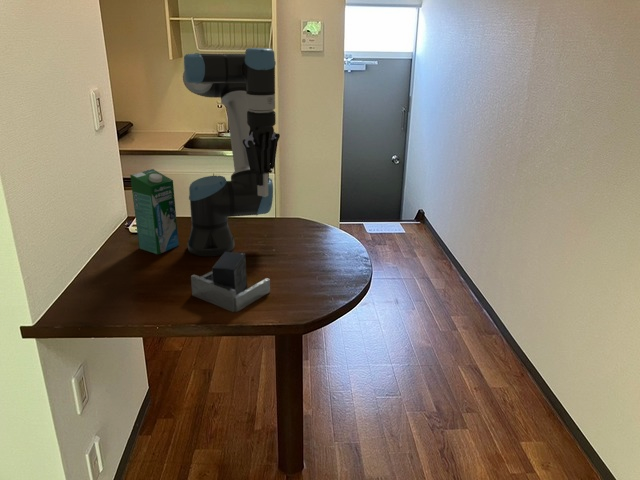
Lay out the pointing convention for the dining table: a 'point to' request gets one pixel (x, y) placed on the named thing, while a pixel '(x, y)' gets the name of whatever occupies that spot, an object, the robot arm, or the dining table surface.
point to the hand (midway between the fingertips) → (263, 195)
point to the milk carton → (154, 211)
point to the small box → (231, 271)
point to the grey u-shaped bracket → (227, 292)
